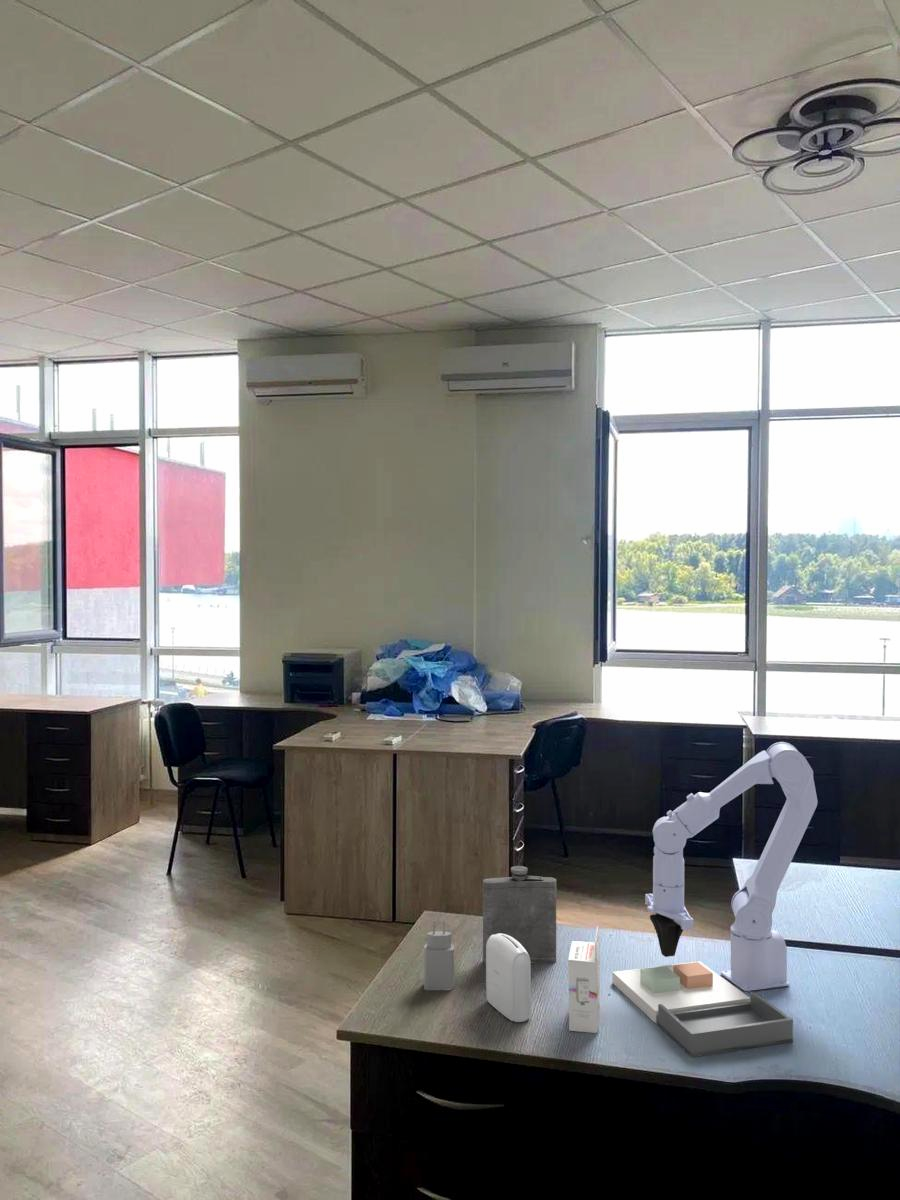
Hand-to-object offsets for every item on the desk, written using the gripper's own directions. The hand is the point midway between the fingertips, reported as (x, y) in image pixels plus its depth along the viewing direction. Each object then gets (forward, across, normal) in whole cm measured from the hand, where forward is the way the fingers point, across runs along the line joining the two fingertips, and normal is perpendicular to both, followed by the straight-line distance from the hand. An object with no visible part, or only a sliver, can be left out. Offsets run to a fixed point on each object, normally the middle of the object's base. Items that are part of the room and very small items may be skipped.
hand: (668, 955), depth 166 cm
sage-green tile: (+1, +8, -6) cm, 11 cm away
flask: (+4, -13, -25) cm, 28 cm away
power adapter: (+4, -6, -43) cm, 43 cm away
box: (+3, +23, -3) cm, 23 cm away
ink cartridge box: (+4, +13, -23) cm, 27 cm away
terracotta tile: (+1, +8, 0) cm, 9 cm away
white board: (+3, +9, -3) cm, 10 cm away
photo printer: (+4, +6, -34) cm, 35 cm away
